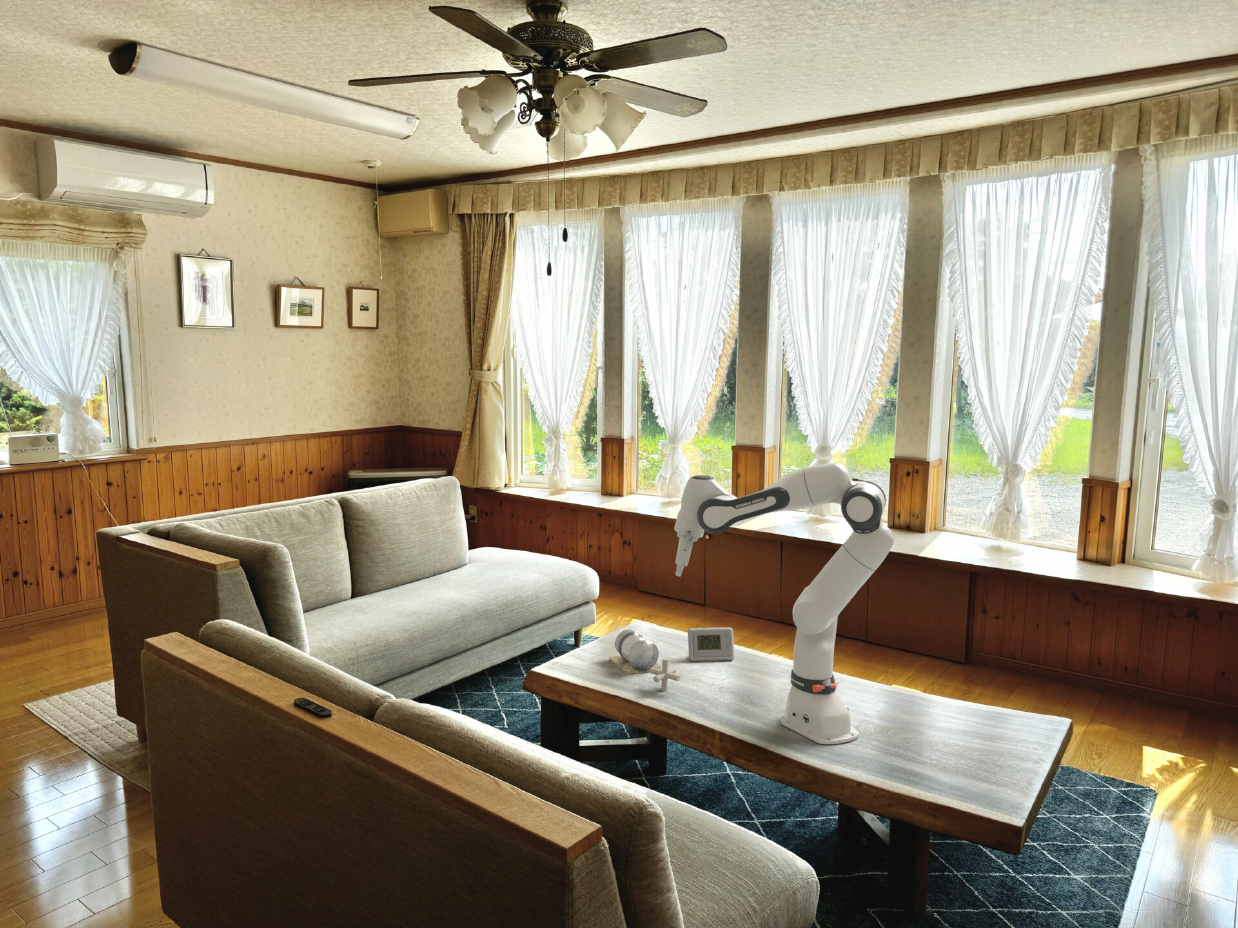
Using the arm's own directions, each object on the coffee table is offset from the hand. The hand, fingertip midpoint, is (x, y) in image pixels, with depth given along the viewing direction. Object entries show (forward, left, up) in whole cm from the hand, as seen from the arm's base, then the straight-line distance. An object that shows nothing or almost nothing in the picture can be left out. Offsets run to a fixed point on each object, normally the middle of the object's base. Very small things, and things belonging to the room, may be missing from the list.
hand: (678, 570), depth 251 cm
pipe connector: (+5, +1, -39) cm, 40 cm away
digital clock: (+24, -26, -40) cm, 53 cm away
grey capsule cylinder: (+27, +1, -39) cm, 48 cm away
